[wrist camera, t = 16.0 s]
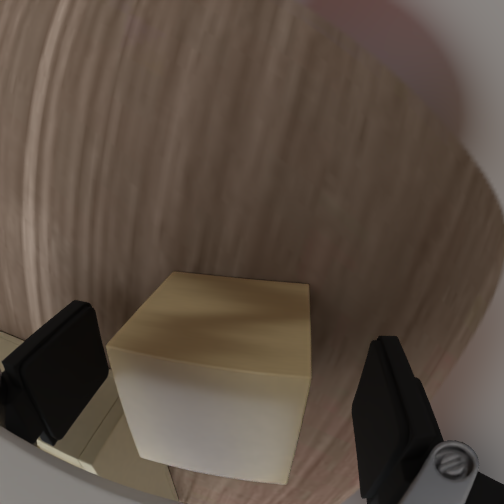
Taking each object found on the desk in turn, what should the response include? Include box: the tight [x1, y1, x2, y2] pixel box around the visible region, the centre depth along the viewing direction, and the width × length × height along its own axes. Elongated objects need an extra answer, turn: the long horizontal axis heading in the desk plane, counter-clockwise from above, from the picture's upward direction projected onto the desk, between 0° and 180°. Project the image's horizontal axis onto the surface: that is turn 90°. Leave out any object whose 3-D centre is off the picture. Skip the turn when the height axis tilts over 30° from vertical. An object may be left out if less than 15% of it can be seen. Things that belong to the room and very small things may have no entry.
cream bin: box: [0, 331, 179, 501], centre depth 13 cm, size 12×12×5 cm
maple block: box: [106, 271, 312, 485], centre depth 9 cm, size 4×4×4 cm
